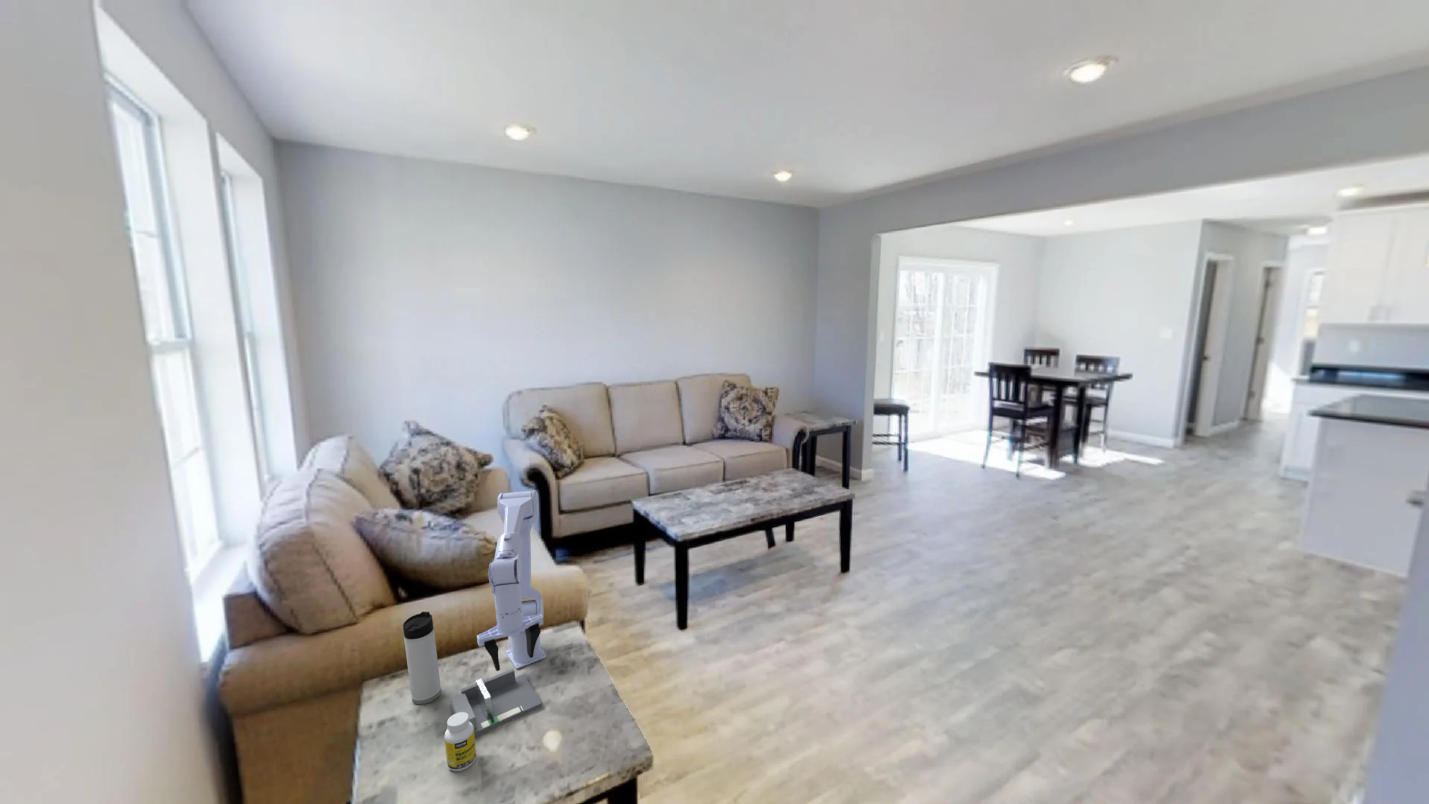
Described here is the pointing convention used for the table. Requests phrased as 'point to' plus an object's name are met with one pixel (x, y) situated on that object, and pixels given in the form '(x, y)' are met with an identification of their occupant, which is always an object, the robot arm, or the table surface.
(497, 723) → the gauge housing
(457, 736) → the supplement bottle
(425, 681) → the travel mug
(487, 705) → the paddle
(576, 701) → the table surface
